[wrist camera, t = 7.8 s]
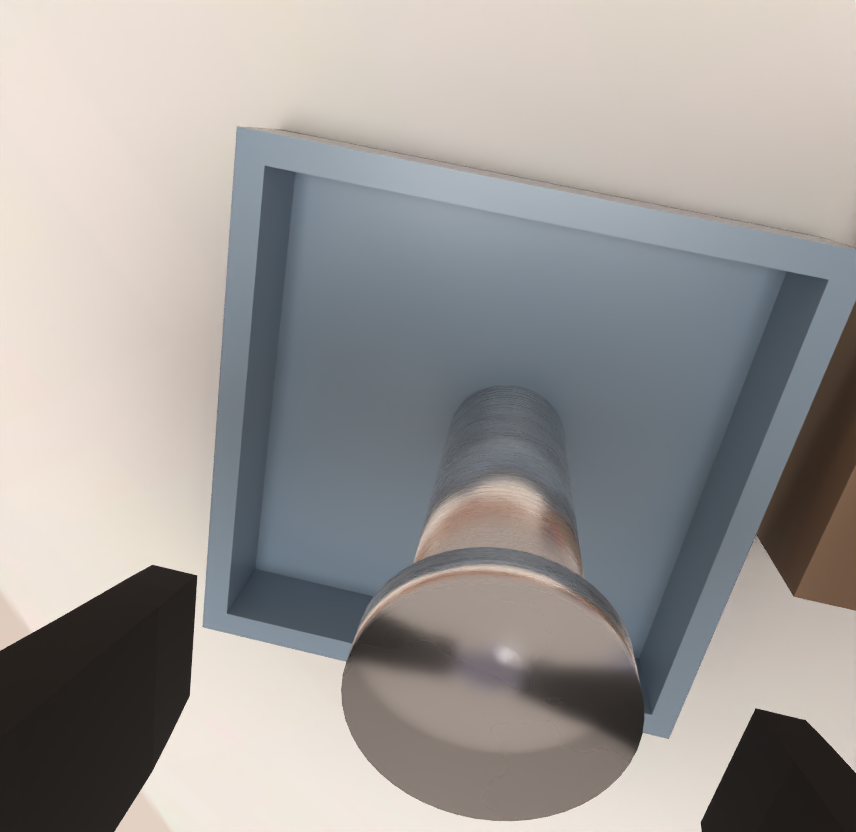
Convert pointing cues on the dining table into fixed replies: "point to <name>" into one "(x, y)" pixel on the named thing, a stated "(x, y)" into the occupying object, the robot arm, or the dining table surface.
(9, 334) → the dining table surface
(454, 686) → the lock pin
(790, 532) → the pin block
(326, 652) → the tray
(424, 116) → the dining table surface
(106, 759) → the robot arm
